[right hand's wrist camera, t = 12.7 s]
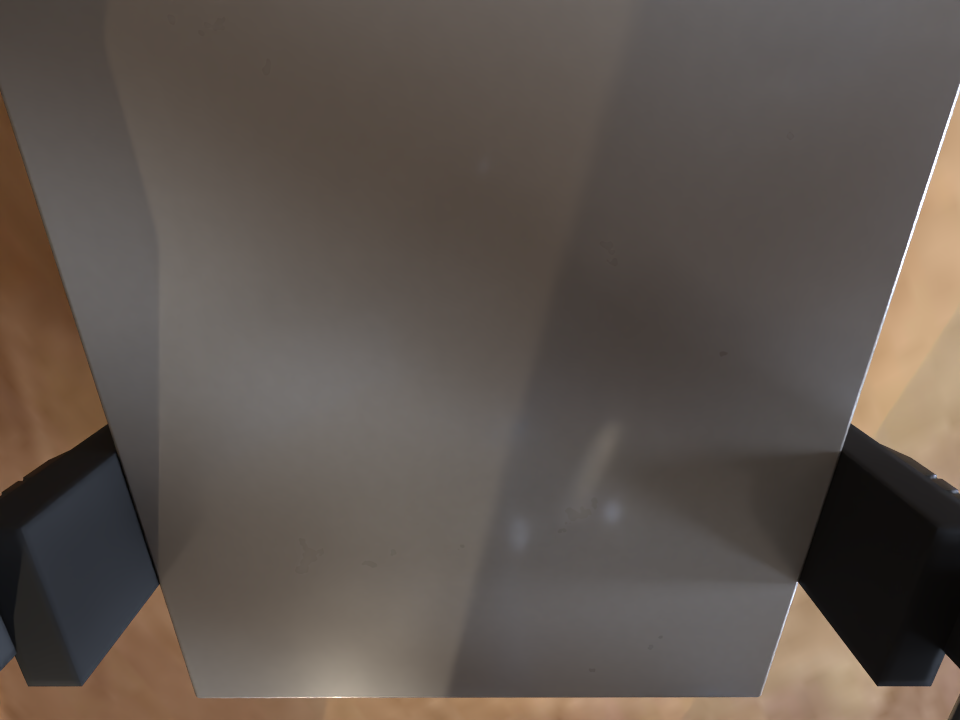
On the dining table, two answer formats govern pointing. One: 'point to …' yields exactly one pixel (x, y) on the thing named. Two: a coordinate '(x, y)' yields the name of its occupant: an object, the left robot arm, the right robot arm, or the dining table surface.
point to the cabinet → (479, 316)
